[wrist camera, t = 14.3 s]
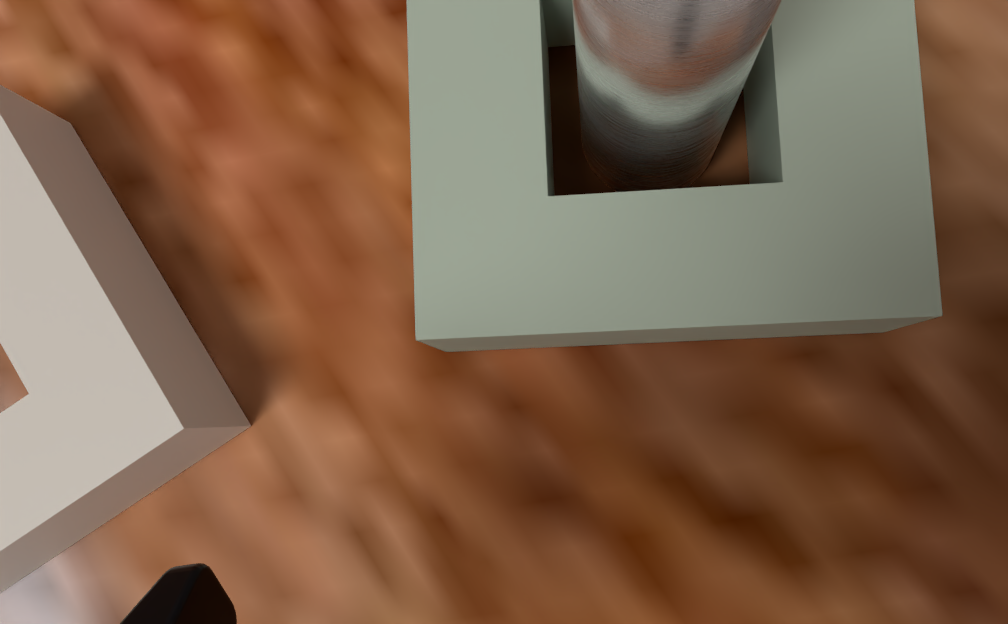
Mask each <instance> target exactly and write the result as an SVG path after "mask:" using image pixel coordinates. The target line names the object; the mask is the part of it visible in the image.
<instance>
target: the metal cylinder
mask: <svg viewBox="0 0 1008 624" xmlns="http://www.w3.org/2000/svg"><path fill="white" fill-rule="evenodd" d="M781 1H782V0H572V2H573V17H574V32H575V48H576V63H577V78H578V93H579V109H580V124H581V139H582V147H583V152H584V154H585V157H586V160H587V162H588V164H589V166H590V168H591V169H592V171H593V172H594V174H595V175H596V176H597V177H598V178H599V179H600V180H601V181H602V182H603V183H604V184H605V185H607V186H608V187H610V188H611V189H613V190H614V191H616V192H629V191H646V190H663V189H679V188H687V187H688V186H690V185H691V184H692V183H694V182H695V181H696V180H697V179H698V178H699V177H700V176H701V175H702V173H703V172H704V171H705V169H706V168H707V166H708V165H709V163H710V161H711V159H712V156H713V154H714V152H715V150H716V147H717V145H718V143H719V141H720V138H721V136H722V134H723V132H724V129H725V127H726V125H727V123H728V120H729V118H730V116H731V113H732V111H733V109H734V107H735V104H736V102H737V100H738V98H739V95H740V93H741V91H742V89H743V86H744V84H745V82H746V80H747V77H748V75H749V73H750V71H751V68H752V66H753V64H754V62H755V59H756V57H757V55H758V52H759V50H760V48H761V46H762V43H763V41H764V39H765V37H766V34H767V32H768V30H769V28H770V25H771V23H772V21H773V19H774V16H775V14H776V12H777V10H778V7H779V5H780V3H781Z"/></svg>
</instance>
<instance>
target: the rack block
mask: <svg viewBox="0 0 1008 624" xmlns="http://www.w3.org/2000/svg"><path fill="white" fill-rule="evenodd" d="M407 32H408V70H409V107H410V145H411V183H412V220H413V258H414V296H415V334H416V340H417V341H419V342H422V343H425V344H427V345H430V346H432V347H435V348H437V349H440V350H442V351H445V352H454V351H477V350H500V349H522V348H545V347H567V346H590V345H612V344H635V343H658V342H680V341H703V340H725V339H748V338H770V337H793V336H816V335H838V334H861V333H883V332H887V331H891V330H894V329H898V328H901V327H905V326H908V325H912V324H916V323H919V322H923V321H926V320H930V319H933V318H937V317H940V316H943V315H942V304H941V293H940V282H939V271H938V259H937V248H936V237H935V226H934V215H933V204H932V193H931V182H930V171H929V160H928V149H927V138H926V127H925V116H924V105H923V93H922V82H921V71H920V60H919V49H918V38H917V27H916V16H915V5H914V0H782V1H781V3H780V5H779V7H778V10H777V12H776V14H775V16H774V19H773V21H772V23H771V25H770V28H769V30H768V32H767V34H766V37H765V39H764V41H763V43H762V46H761V48H760V50H759V52H758V55H757V57H756V59H755V62H754V64H753V66H752V68H751V71H750V73H749V75H748V77H747V80H746V82H745V84H744V86H743V93H744V108H745V123H746V137H747V152H748V167H749V182H750V184H746V185H729V186H712V187H696V188H679V189H663V190H646V191H629V192H613V193H596V194H579V195H563V196H555V193H554V170H553V147H552V124H551V102H550V79H549V56H548V47H557V46H570V45H575V32H574V17H573V2H572V0H407Z"/></svg>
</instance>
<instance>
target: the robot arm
mask: <svg viewBox="0 0 1008 624" xmlns="http://www.w3.org/2000/svg"><path fill="white" fill-rule="evenodd" d="M120 624H237V619H236V612H235V609H234V606H233V604H232V602H231V600H230V598H229V597H228V595H227V594H226V592H225V590H224V589H223V587H222V586H221V584H220V582H219V581H218V579H217V578H216V576H215V574H214V573H213V571H212V570H211V568H210V567H209V566H207V565H205V564H202V563H198V564H190V565H183V566H177V567H173V568H171V569H169V570H168V571H167V572H165V573H164V574H163V575H162V576H161V578H160V579H159V580H158V581H157V582H156V583H155V584H154V586H153V587H152V588H151V589H150V590H149V591H148V592H147V593H146V595H145V596H144V597H143V598H142V599H141V600H140V601H139V603H138V604H137V605H136V606H135V607H134V608H133V609H132V610H131V612H130V613H129V614H128V615H127V616H126V617H125V618H124V619H123V621H122V622H121V623H120Z"/></svg>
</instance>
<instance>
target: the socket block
mask: <svg viewBox="0 0 1008 624" xmlns="http://www.w3.org/2000/svg"><path fill="white" fill-rule="evenodd" d="M0 343H1V345H2V346H3V348H4V350H5V352H6V354H7V355H8V357H9V359H10V361H11V363H12V364H13V366H14V368H15V370H16V371H17V373H18V375H19V377H20V379H21V380H22V382H23V384H24V386H25V388H26V389H27V391H28V393H29V394H28V395H27V396H25V397H24V398H22V399H21V400H19V401H18V402H16V403H15V404H13V405H12V406H10V407H9V408H7V409H6V410H4V411H3V412H1V413H0V593H1V592H2V591H4V590H5V589H7V588H8V587H10V586H11V585H13V584H14V583H16V582H17V581H19V580H20V579H22V578H23V577H25V576H26V575H28V574H29V573H31V572H32V571H34V570H35V569H37V568H39V567H40V566H42V565H43V564H45V563H46V562H48V561H49V560H51V559H52V558H54V557H55V556H57V555H58V554H60V553H61V552H63V551H64V550H66V549H67V548H69V547H70V546H72V545H73V544H75V543H76V542H78V541H79V540H81V539H82V538H84V537H85V536H87V535H88V534H90V533H91V532H93V531H94V530H96V529H97V528H99V527H100V526H102V525H103V524H105V523H106V522H108V521H109V520H111V519H112V518H114V517H115V516H117V515H118V514H120V513H121V512H123V511H124V510H126V509H127V508H129V507H130V506H132V505H133V504H135V503H136V502H138V501H139V500H141V499H142V498H144V497H145V496H147V495H148V494H150V493H151V492H153V491H154V490H156V489H157V488H159V487H160V486H162V485H163V484H165V483H166V482H168V481H169V480H171V479H172V478H174V477H175V476H177V475H178V474H180V473H181V472H183V471H184V470H186V469H187V468H189V467H190V466H192V465H193V464H195V463H196V462H198V461H199V460H201V459H202V458H204V457H205V456H207V455H208V454H210V453H211V452H213V451H214V450H216V449H217V448H219V447H220V446H222V445H223V444H225V443H226V442H228V441H229V440H231V439H232V438H234V437H235V436H237V435H238V434H240V433H241V432H243V431H244V430H246V429H247V428H249V427H250V426H251V425H250V423H249V421H248V420H247V418H246V416H245V415H244V413H243V411H242V410H241V408H240V406H239V404H238V403H237V401H236V399H235V398H234V396H233V394H232V393H231V391H230V389H229V388H228V386H227V384H226V383H225V381H224V379H223V378H222V376H221V374H220V373H219V371H218V369H217V368H216V366H215V364H214V363H213V361H212V359H211V358H210V356H209V354H208V353H207V351H206V349H205V348H204V346H203V344H202V342H201V341H200V339H199V337H198V336H197V334H196V332H195V331H194V329H193V327H192V326H191V324H190V322H189V321H188V319H187V317H186V316H185V314H184V312H183V311H182V309H181V307H180V306H179V304H178V302H177V301H176V299H175V297H174V296H173V294H172V292H171V291H170V289H169V287H168V286H167V284H166V282H165V281H164V279H163V277H162V275H161V274H160V272H159V270H158V269H157V267H156V265H155V264H154V262H153V260H152V259H151V257H150V255H149V254H148V252H147V250H146V249H145V247H144V245H143V244H142V242H141V240H140V239H139V237H138V235H137V234H136V232H135V230H134V229H133V227H132V225H131V224H130V222H129V220H128V219H127V217H126V215H125V214H124V212H123V210H122V208H121V207H120V205H119V203H118V202H117V200H116V198H115V197H114V195H113V193H112V192H111V190H110V188H109V187H108V185H107V183H106V182H105V180H104V178H103V177H102V175H101V173H100V172H99V170H98V168H97V167H96V165H95V163H94V162H93V160H92V158H91V157H90V155H89V153H88V152H87V150H86V148H85V147H84V145H83V143H82V141H81V140H80V138H79V136H78V135H77V133H76V131H75V130H74V128H73V126H72V125H71V123H69V122H67V121H66V120H64V119H62V118H60V117H58V116H56V115H55V114H53V113H51V112H49V111H47V110H46V109H44V108H42V107H40V106H38V105H36V104H35V103H33V102H31V101H29V100H27V99H25V98H24V97H22V96H20V95H18V94H16V93H14V92H13V91H11V90H9V89H7V88H5V87H3V86H2V85H0Z"/></svg>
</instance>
